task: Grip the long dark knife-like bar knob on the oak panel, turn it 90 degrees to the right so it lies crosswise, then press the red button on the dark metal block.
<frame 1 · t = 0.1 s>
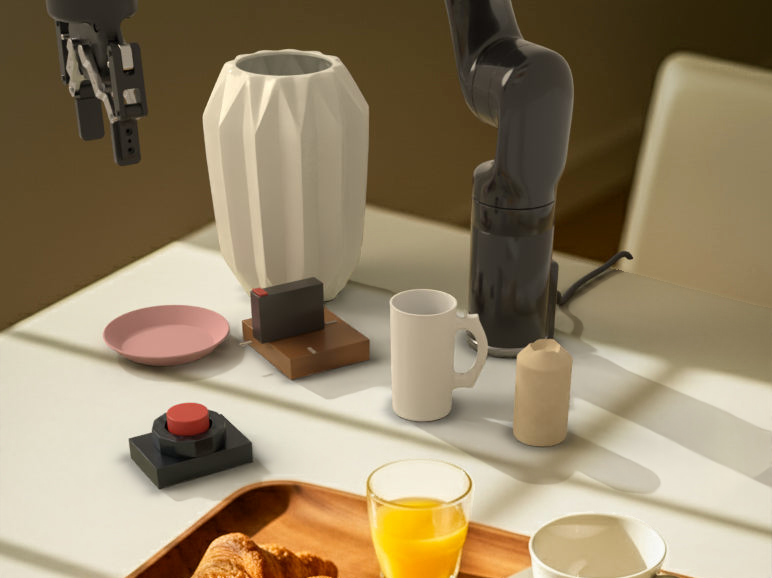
hand: (109, 151, 120), 29 cm above the table, tool pointing down, fingers open, 8 cm apart
candle: (539, 435, 138), on the table
plate: (168, 347, 155), on the table
button block: (191, 459, 133), on the table
button: (188, 419, 130), point 4 cm above the table, slide at 0.1 cm
oak panel: (305, 349, 154), on the table
bar knob: (287, 309, 150), point 5 cm above the table, hinge at 0.0°
mug: (437, 410, 142), on the table
vase: (294, 291, 168), on the table
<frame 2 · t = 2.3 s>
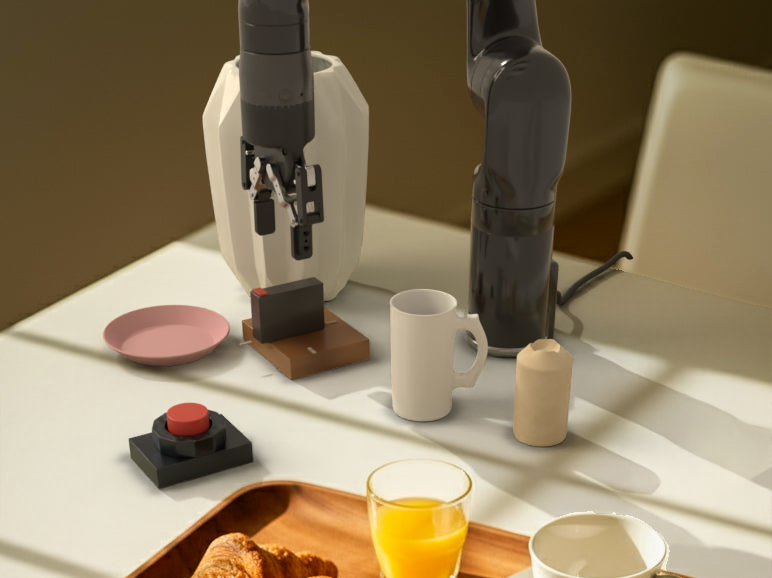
hand: (283, 245, 146), 13 cm above the table, tool pointing down, fingers open, 8 cm apart
nothing on the table moved.
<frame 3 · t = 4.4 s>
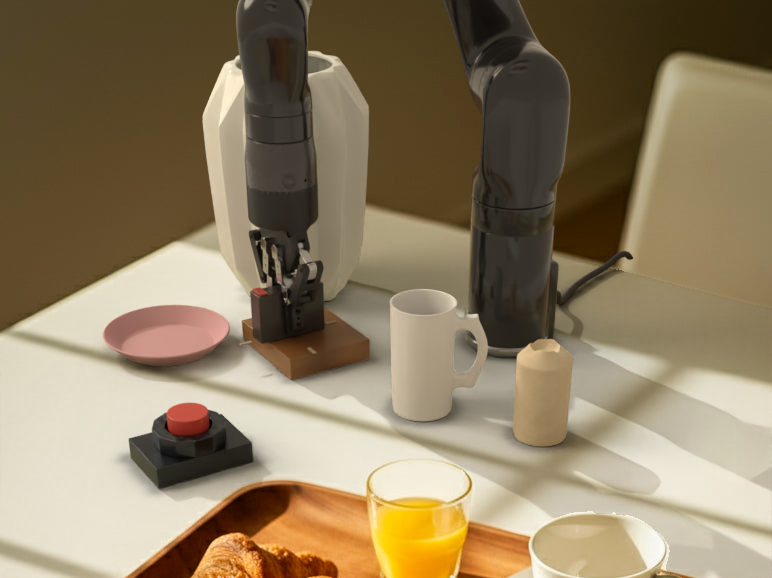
hand: (288, 328, 151), 3 cm above the table, tool pointing down, fingers closed on bar knob, 2 cm apart
bar knob: (287, 309, 150), point 5 cm above the table, hinge at 0.1°, touching gripper
everything else where it was.
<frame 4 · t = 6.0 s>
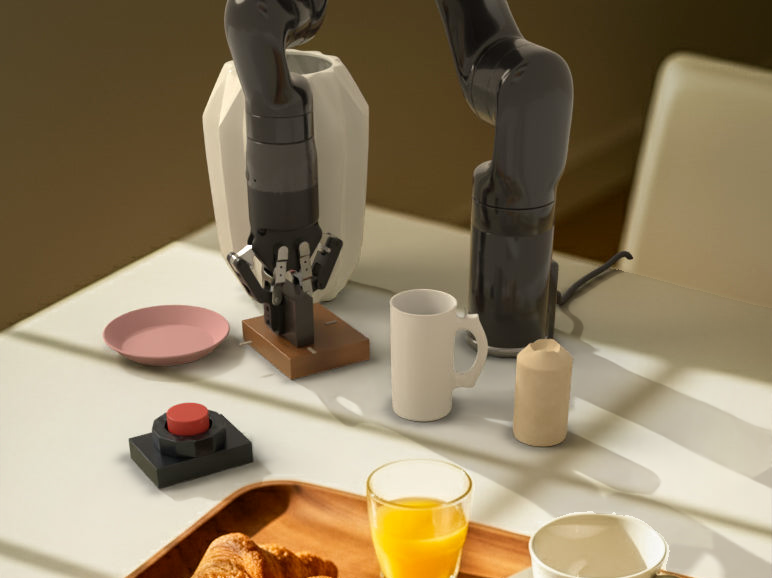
hand: (289, 329, 151), 3 cm above the table, tool pointing down, fingers closed
bar knob: (287, 309, 150), point 5 cm above the table, hinge at -89.8°
everything else where it was.
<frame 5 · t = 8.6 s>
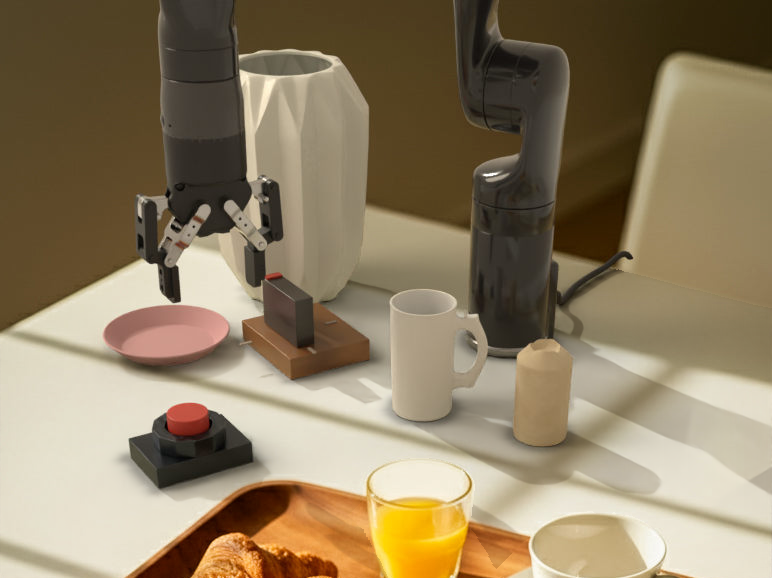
hand: (214, 292, 132), 14 cm above the table, tool pointing down, fingers open, 8 cm apart
nothing on the table moved.
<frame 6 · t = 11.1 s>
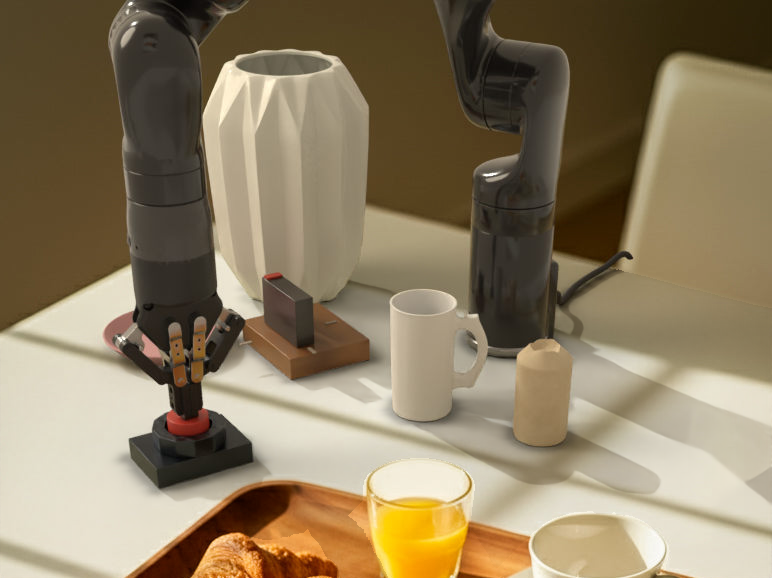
hand: (187, 415, 130), 5 cm above the table, tool pointing down, fingers closed
button: (188, 422, 130), point 4 cm above the table, slide at -0.2 cm, touching gripper
everything else where it was.
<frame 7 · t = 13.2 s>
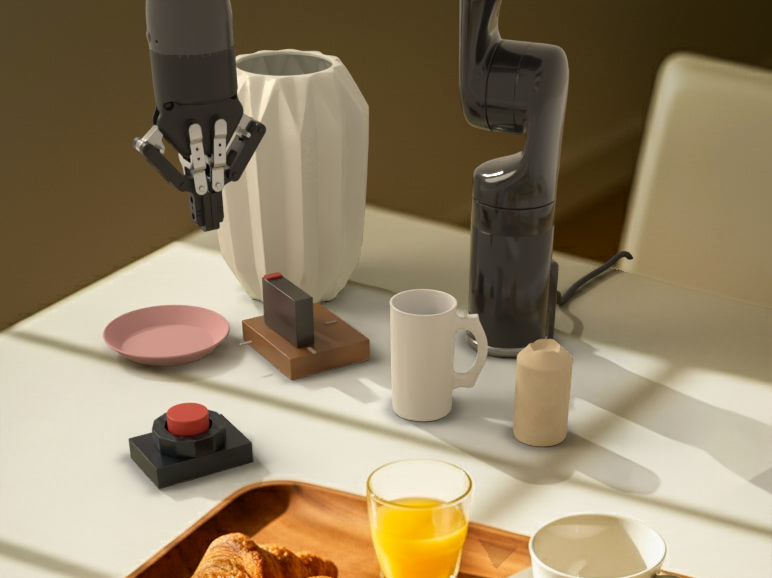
hand: (208, 227, 129), 20 cm above the table, tool pointing down, fingers closed
button: (188, 419, 130), point 4 cm above the table, slide at 0.1 cm
everything else where it was.
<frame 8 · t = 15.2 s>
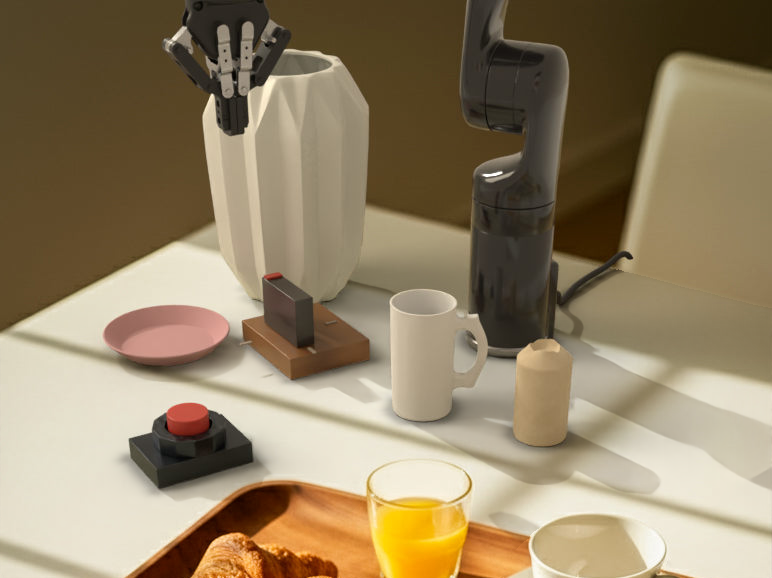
hand: (233, 133, 132), 27 cm above the table, tool pointing down, fingers closed
nothing on the table moved.
at the end: bar knob at -90° (first picture: +0°); button pushed in 1.1 cm at the most during the clip, back to where it started at the end; button slide at 0.1 cm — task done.
